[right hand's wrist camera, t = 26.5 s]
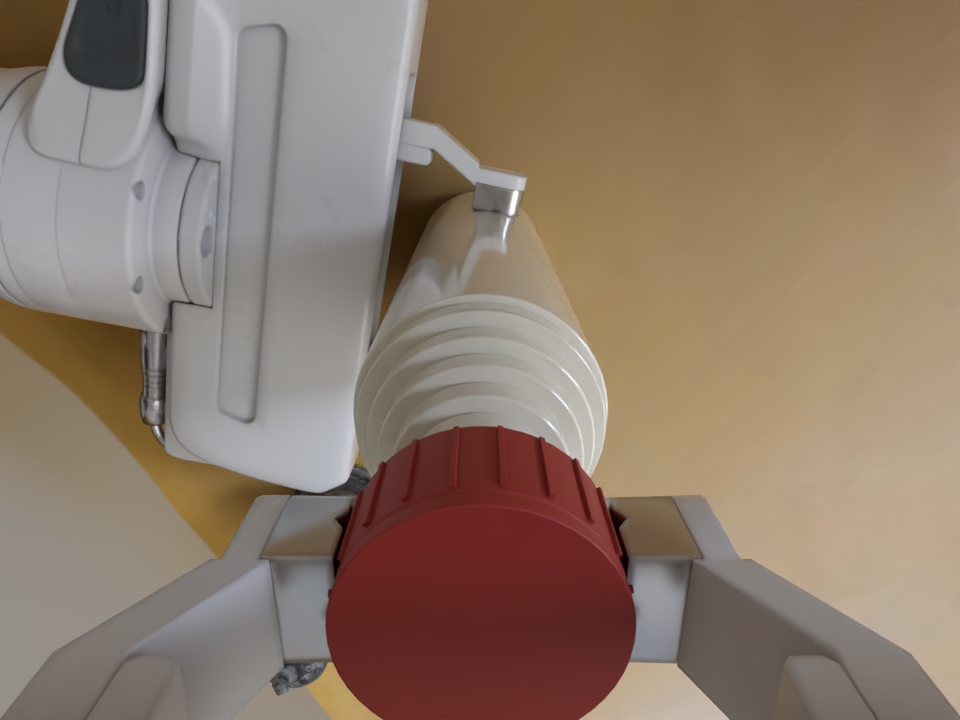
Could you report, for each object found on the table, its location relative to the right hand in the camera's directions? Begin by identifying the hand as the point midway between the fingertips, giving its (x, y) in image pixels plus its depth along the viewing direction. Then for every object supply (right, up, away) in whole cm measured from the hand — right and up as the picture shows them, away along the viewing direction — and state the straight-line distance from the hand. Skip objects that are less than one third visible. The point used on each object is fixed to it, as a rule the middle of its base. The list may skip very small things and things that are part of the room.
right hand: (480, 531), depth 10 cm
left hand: (+1, +6, +15) cm, 16 cm away
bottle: (0, +8, +20) cm, 21 cm away
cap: (0, -1, -2) cm, 2 cm away
